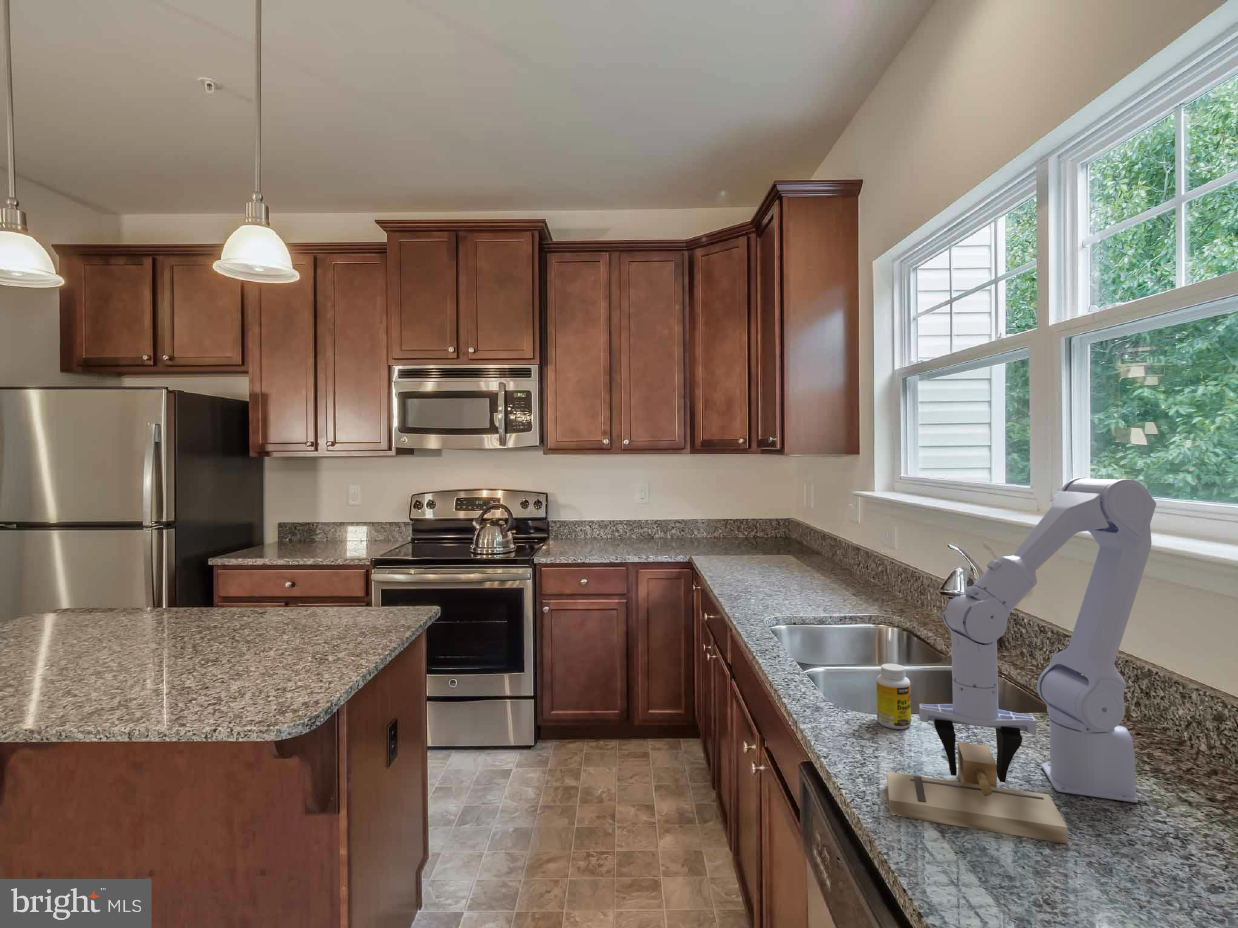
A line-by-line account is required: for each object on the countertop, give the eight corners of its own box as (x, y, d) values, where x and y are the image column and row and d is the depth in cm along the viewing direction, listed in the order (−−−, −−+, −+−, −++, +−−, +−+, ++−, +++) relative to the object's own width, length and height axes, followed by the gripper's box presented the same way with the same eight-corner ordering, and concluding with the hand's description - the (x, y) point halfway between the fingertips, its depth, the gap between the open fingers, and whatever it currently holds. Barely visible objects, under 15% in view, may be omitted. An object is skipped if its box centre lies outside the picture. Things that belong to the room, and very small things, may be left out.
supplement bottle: (899, 733, 109) (897, 674, 109) (870, 722, 113) (869, 665, 113) (917, 725, 112) (916, 667, 112) (889, 715, 116) (888, 659, 116)
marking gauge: (988, 779, 93) (988, 745, 93) (1005, 820, 83) (1004, 781, 83) (958, 775, 94) (957, 741, 94) (970, 814, 84) (969, 777, 84)
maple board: (1049, 809, 85) (1049, 793, 85) (1067, 843, 77) (1067, 826, 77) (887, 785, 92) (887, 770, 92) (889, 814, 84) (889, 798, 84)
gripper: (1026, 676, 92) (1028, 770, 92) (916, 667, 97) (918, 755, 97) (1039, 694, 85) (1041, 794, 85) (920, 683, 90) (922, 777, 91)
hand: (976, 775), depth 91 cm, fingers open, 5 cm apart
